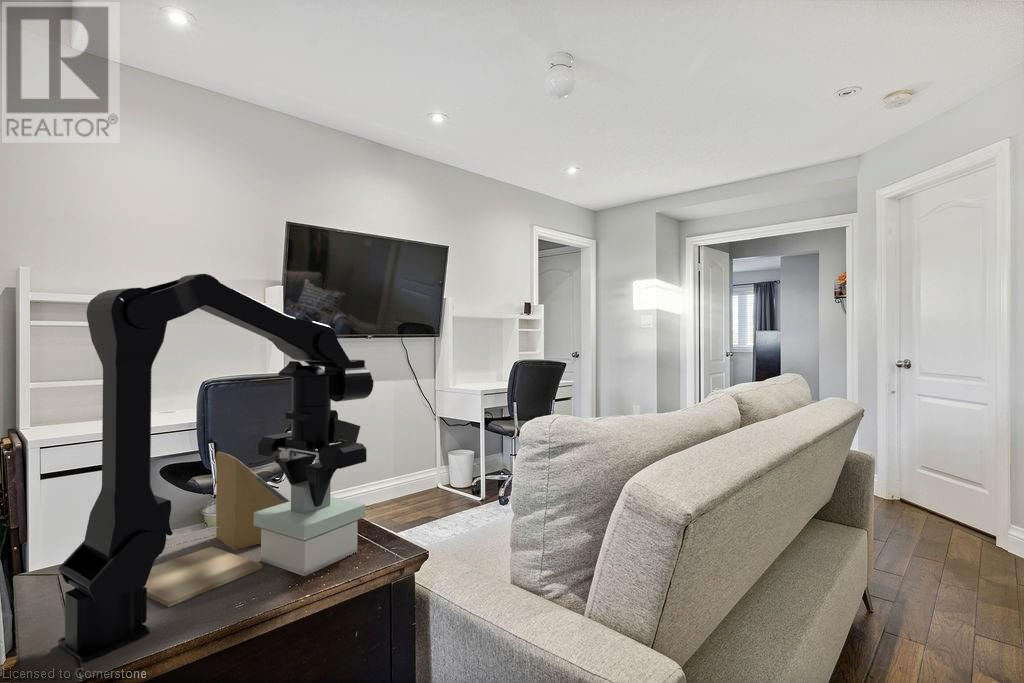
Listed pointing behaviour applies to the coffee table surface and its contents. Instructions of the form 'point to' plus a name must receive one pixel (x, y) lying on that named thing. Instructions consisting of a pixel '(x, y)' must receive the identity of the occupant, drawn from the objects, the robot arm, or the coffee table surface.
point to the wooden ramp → (240, 502)
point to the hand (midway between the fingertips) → (310, 504)
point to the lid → (308, 514)
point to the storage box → (308, 549)
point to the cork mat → (195, 574)
